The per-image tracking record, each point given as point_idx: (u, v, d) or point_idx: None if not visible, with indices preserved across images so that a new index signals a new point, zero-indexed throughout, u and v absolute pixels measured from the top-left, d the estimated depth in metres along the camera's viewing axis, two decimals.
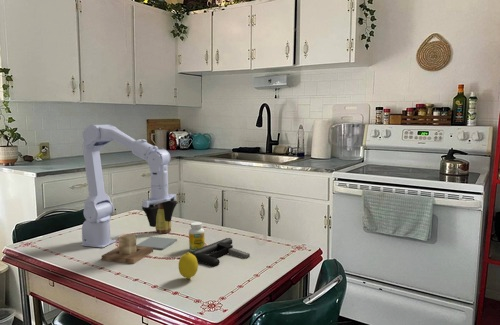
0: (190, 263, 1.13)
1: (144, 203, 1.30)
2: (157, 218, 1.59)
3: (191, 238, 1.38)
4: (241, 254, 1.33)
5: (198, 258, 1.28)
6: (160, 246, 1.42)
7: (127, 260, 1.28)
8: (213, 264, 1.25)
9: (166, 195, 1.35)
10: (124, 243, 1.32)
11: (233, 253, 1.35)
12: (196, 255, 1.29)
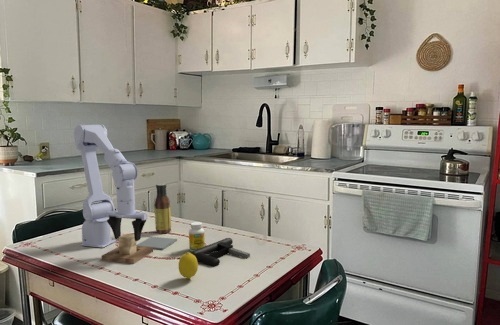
0: (190, 263, 1.13)
1: None
2: (157, 218, 1.59)
3: (191, 238, 1.38)
4: (241, 254, 1.33)
5: (198, 258, 1.28)
6: (160, 246, 1.42)
7: (127, 260, 1.28)
8: (213, 264, 1.25)
9: (121, 211, 1.30)
10: (124, 243, 1.32)
11: (233, 253, 1.35)
12: (196, 255, 1.29)
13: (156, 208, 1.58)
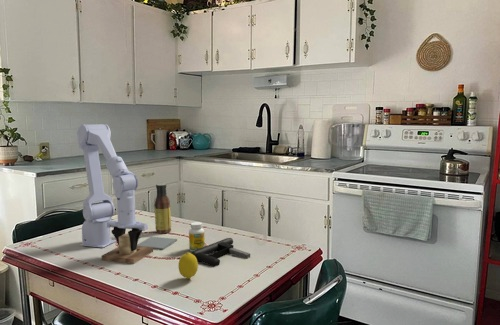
0: (190, 263, 1.13)
1: None
2: (157, 218, 1.59)
3: (191, 238, 1.38)
4: (242, 254, 1.33)
5: (199, 258, 1.28)
6: (160, 246, 1.42)
7: (127, 260, 1.28)
8: (213, 264, 1.25)
9: (122, 222, 1.31)
10: (124, 243, 1.32)
11: (234, 253, 1.35)
12: (197, 255, 1.30)
13: (156, 208, 1.58)
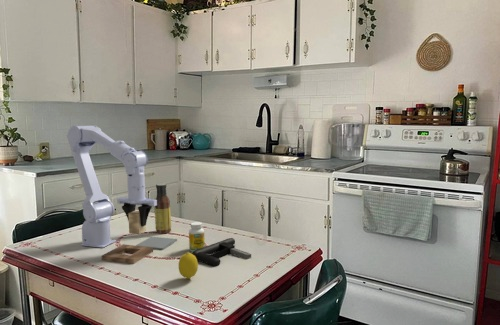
0: (190, 263, 1.13)
1: None
2: (157, 218, 1.59)
3: (191, 238, 1.38)
4: (242, 254, 1.33)
5: (199, 258, 1.29)
6: (160, 246, 1.42)
7: (127, 260, 1.28)
8: (214, 264, 1.25)
9: (132, 197, 1.34)
10: (134, 219, 1.36)
11: (235, 253, 1.35)
12: (197, 255, 1.30)
13: (156, 208, 1.58)
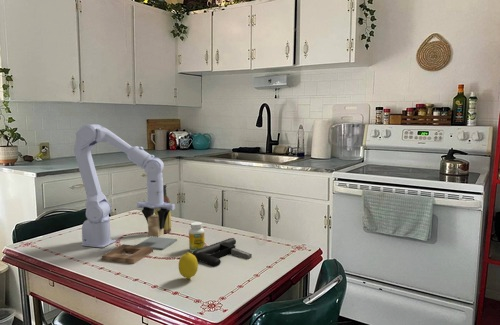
0: (190, 263, 1.13)
1: None
2: None
3: (191, 238, 1.38)
4: (243, 254, 1.33)
5: (199, 258, 1.29)
6: (160, 246, 1.42)
7: (127, 260, 1.28)
8: (214, 264, 1.25)
9: (152, 202, 1.43)
10: (153, 223, 1.44)
11: (235, 253, 1.35)
12: (198, 255, 1.30)
13: None
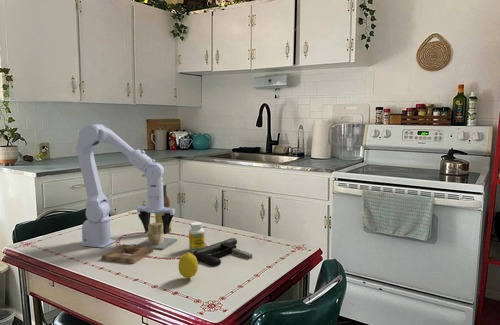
0: (190, 263, 1.13)
1: None
2: (157, 218, 1.59)
3: (191, 238, 1.38)
4: (244, 255, 1.33)
5: (200, 257, 1.29)
6: (160, 246, 1.42)
7: (127, 260, 1.28)
8: (214, 264, 1.25)
9: (152, 207, 1.43)
10: (153, 230, 1.44)
11: (236, 253, 1.35)
12: (198, 254, 1.30)
13: None
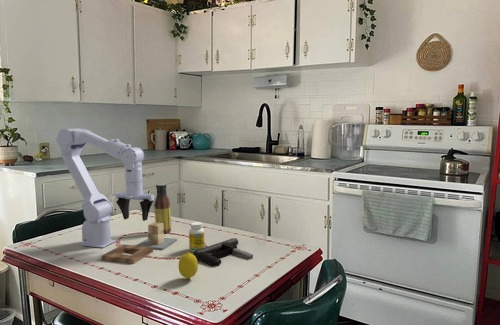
0: (190, 263, 1.13)
1: None
2: (157, 218, 1.59)
3: (191, 238, 1.38)
4: (244, 255, 1.33)
5: (200, 257, 1.29)
6: (160, 246, 1.42)
7: (127, 260, 1.28)
8: (214, 264, 1.25)
9: (130, 192, 1.38)
10: (153, 230, 1.44)
11: (237, 253, 1.35)
12: (199, 254, 1.30)
13: (156, 208, 1.58)
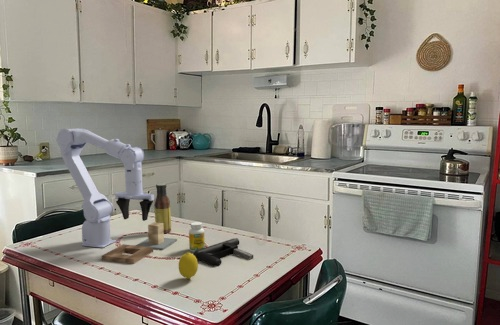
0: (190, 263, 1.13)
1: None
2: (157, 218, 1.59)
3: (191, 238, 1.38)
4: (245, 255, 1.32)
5: (201, 257, 1.29)
6: (160, 246, 1.42)
7: (127, 260, 1.28)
8: (214, 264, 1.25)
9: (130, 192, 1.38)
10: (153, 230, 1.44)
11: (237, 254, 1.35)
12: (199, 254, 1.30)
13: (156, 208, 1.58)
